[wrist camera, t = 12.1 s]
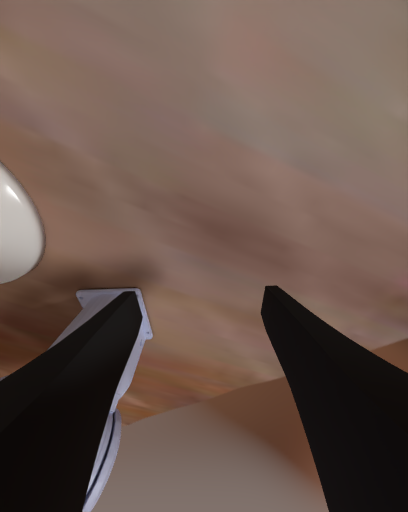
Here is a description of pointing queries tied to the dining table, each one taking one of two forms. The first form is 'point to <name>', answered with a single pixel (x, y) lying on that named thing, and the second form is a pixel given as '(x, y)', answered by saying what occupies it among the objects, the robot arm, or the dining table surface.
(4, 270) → the plate
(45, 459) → the robot arm
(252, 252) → the dining table surface
